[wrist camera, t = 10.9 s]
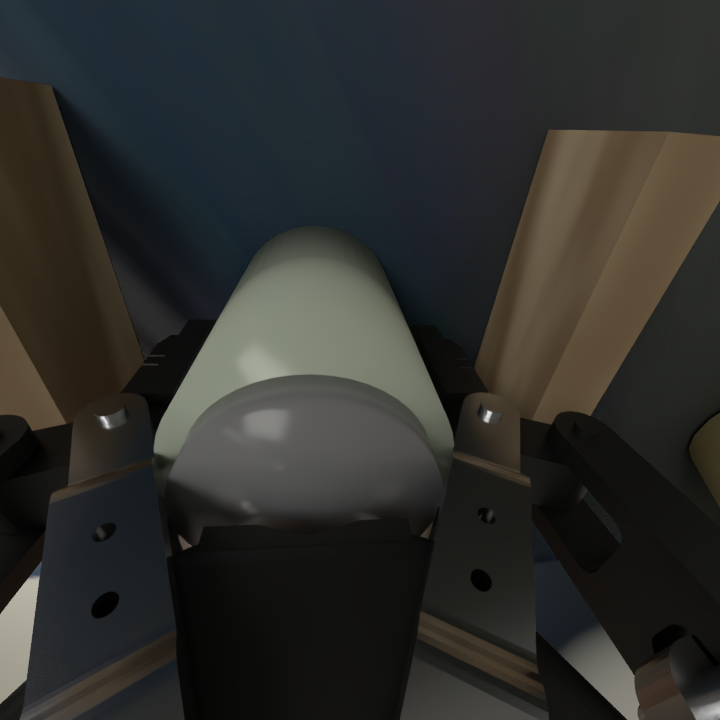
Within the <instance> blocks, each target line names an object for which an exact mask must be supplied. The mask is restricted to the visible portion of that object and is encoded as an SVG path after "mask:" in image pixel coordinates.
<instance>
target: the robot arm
mask: <svg viewBox="0 0 720 720" xmlns="http://www.w3.org/2000/svg"><path fill="white" fill-rule="evenodd" d="M216 322H217V321H216V320H189V321H188V322H187V324H186V325H185V327H184V328H183V329H182V331H181V332H180V334H179V335H171V336H169V337H168V338H166V339H165V340H163V341H161V342H160V343H158V344H157V345H156V347H155V348H154V349H153V351H152V352H151V353H150V357H147V359H146V360H145V361H144V362H143V366H142V365H141V366H140V368H139V369H138V370H137V372H136V373H135V374H134V376H133V377H132V378H131V380H130V381H129V382H128V384H127V385H126V386H125V388H124V389H123V390H122V391H121V393H120V394H114V395H109V396H106V397H103V398H100V399H98V400H96V401H94V402H92V403H90V404H89V405H87V406H86V407H84V408H83V409H82V410H81V411H80V412H79V413H78V414H77V415H76V417H75V419H74V422H72V423H68V424H63V425H58V426H53V427H48V428H44V429H39V430H34V431H33V430H32V429H31V427H30V426H29V424H28V423H27V421H26V420H25V419H24V418H23V417H21V416H18V415H0V613H1V612H2V611H3V610H4V608H5V607H6V606H7V604H8V603H9V602H10V601H11V599H12V598H13V597H14V595H15V594H16V593H17V592H18V590H19V589H20V588H21V586H22V585H23V584H24V583H25V581H26V580H27V579H28V577H29V576H30V575H31V574H32V572H33V571H34V570H35V568H36V567H37V566H38V565H39V563H40V562H41V561H42V563H41V571H40V579H39V587H38V595H37V603H36V611H35V619H34V627H33V634H32V642H31V650H30V658H29V666H28V674H27V680H26V681H25V682H24V683H23V684H22V685H21V686H19V687H18V688H17V689H16V690H15V691H14V692H13V693H12V694H11V695H10V696H9V697H8V698H7V699H5V700H4V701H3V702H2V703H1V704H0V720H627V719H626V718H625V717H624V716H623V715H622V714H621V713H620V712H619V711H618V710H617V709H616V708H614V707H613V705H612V704H611V703H610V702H608V701H607V700H606V699H605V698H604V697H603V696H602V695H601V694H600V693H599V692H598V691H597V690H596V689H595V688H594V687H593V686H592V685H591V684H590V683H589V682H588V681H587V680H586V679H585V678H584V677H583V676H582V675H581V674H580V673H579V672H578V671H577V670H576V669H575V668H573V667H572V666H571V665H570V664H569V663H568V662H567V661H566V660H565V659H564V658H563V657H562V656H561V655H560V654H559V653H558V652H557V651H556V650H555V649H554V648H553V647H552V646H551V645H550V644H549V643H548V642H547V641H546V640H544V638H543V637H541V635H539V634H538V633H537V632H536V628H535V600H534V599H535V597H534V565H533V533H532V520H533V522H534V523H535V525H536V526H537V528H538V529H539V531H540V532H541V534H542V535H543V537H544V538H545V540H546V542H547V543H548V545H549V546H550V548H551V549H552V551H553V552H554V554H555V555H556V557H557V558H558V560H559V561H560V563H561V564H562V566H563V567H564V569H565V570H566V572H567V573H568V575H569V576H570V578H571V579H572V581H573V583H574V584H575V586H576V587H577V588H578V590H579V592H580V593H581V595H582V596H583V598H584V599H585V601H586V602H587V604H588V605H589V607H590V608H591V610H592V611H593V613H594V614H595V616H596V618H597V619H598V620H599V622H600V623H601V625H602V627H603V628H604V630H605V631H606V633H607V634H608V636H609V637H610V639H611V640H612V642H613V643H614V645H615V646H616V648H617V649H618V651H619V652H620V654H621V655H622V657H623V659H624V660H625V662H626V663H627V664H628V666H629V668H630V669H631V671H632V672H633V674H634V675H635V690H636V694H637V698H638V701H639V704H640V705H639V707H638V717H639V720H720V527H719V526H718V525H717V524H716V523H714V522H713V521H712V520H711V519H710V518H709V517H708V516H707V515H706V514H704V513H703V512H702V511H701V510H700V509H699V508H698V507H697V506H696V505H695V504H693V503H692V502H691V501H690V500H689V499H688V498H687V497H686V496H685V495H683V494H682V493H681V492H680V491H679V490H678V489H677V488H676V487H675V486H674V485H672V484H671V483H670V482H669V481H668V480H667V479H666V478H665V477H664V476H662V475H661V474H660V473H659V472H658V471H657V470H656V469H655V468H654V467H652V466H651V465H650V464H649V463H648V462H647V461H646V460H645V459H644V458H643V457H641V456H640V455H639V454H638V453H637V452H636V451H635V450H634V449H633V448H631V447H630V446H629V445H628V444H627V443H626V442H625V441H624V440H623V439H621V438H620V437H619V436H618V435H617V434H616V433H615V432H614V431H613V430H612V429H610V428H609V427H608V426H607V425H606V424H604V423H603V422H601V421H599V420H598V419H596V418H594V417H592V416H589V415H587V414H583V413H580V412H574V411H565V412H561V413H559V414H558V415H557V416H556V417H555V419H554V421H553V423H552V424H547V423H542V422H538V421H533V420H529V419H525V418H521V417H520V415H519V412H518V411H517V409H516V408H515V407H514V406H513V405H512V404H511V403H510V402H508V401H507V400H505V399H503V398H502V397H499V396H497V395H494V394H490V393H489V392H488V390H487V388H486V387H485V385H484V384H483V382H482V380H481V379H480V377H479V376H478V374H477V372H476V371H475V369H474V368H473V366H472V364H471V363H470V361H469V360H468V358H467V356H466V354H465V353H464V351H463V350H462V348H461V347H459V346H458V345H457V344H455V343H454V342H453V341H451V340H444V339H443V337H442V335H441V334H440V332H439V330H438V328H437V327H436V325H412V327H411V329H410V332H411V334H412V337H413V339H414V341H415V344H416V346H417V348H418V351H419V353H420V355H421V357H422V360H423V362H424V364H425V367H426V369H427V371H428V374H429V376H430V378H431V381H432V383H433V385H434V388H435V390H436V392H437V395H438V397H439V399H440V402H441V404H442V406H443V409H444V411H445V413H446V415H447V418H448V420H449V423H450V426H451V429H452V432H453V440H454V447H453V449H452V452H451V455H450V458H449V461H448V465H447V470H446V474H445V477H444V481H443V492H442V495H441V498H440V501H439V504H438V507H437V510H436V513H435V516H434V519H433V521H432V523H431V524H430V526H429V527H428V529H427V533H426V536H425V538H424V537H421V536H418V535H414V534H411V529H410V525H409V520H408V518H396V519H373V520H359V521H355V522H352V523H349V524H346V525H342V526H339V527H336V528H333V529H329V530H326V531H323V532H319V533H316V534H312V535H303V534H298V533H293V532H289V531H284V530H279V529H275V528H270V527H265V526H261V525H233V526H210V527H203V530H202V533H201V537H200V540H199V543H198V545H195V546H192V547H190V546H189V544H188V543H187V542H186V541H185V540H184V539H183V538H182V537H181V536H180V535H179V533H178V531H177V528H176V526H175V523H174V521H173V519H172V516H171V514H170V511H169V509H168V506H167V504H166V501H165V499H164V491H165V486H166V485H165V481H164V477H163V472H162V468H161V466H160V463H159V460H158V458H157V455H156V453H154V442H155V436H156V432H157V429H158V427H159V424H160V422H161V419H162V417H163V416H164V414H165V412H166V410H167V409H168V407H169V405H170V403H171V401H172V400H173V398H174V396H175V394H176V393H177V391H178V389H179V387H180V386H181V384H182V382H183V380H184V378H185V377H186V375H187V373H188V371H189V370H190V368H191V366H192V364H193V363H194V361H195V359H196V357H197V355H198V354H199V352H200V350H201V348H202V347H203V345H204V343H205V341H206V340H207V338H208V336H209V334H210V332H211V331H212V329H213V327H214V325H215V324H216ZM588 491H589V492H590V493H591V494H592V495H593V496H594V498H595V499H596V500H597V501H598V502H599V503H600V505H601V506H602V507H603V508H604V509H605V510H606V512H607V513H608V514H609V515H610V516H611V517H612V518H613V520H614V521H615V522H616V524H617V525H618V527H619V529H620V532H621V536H622V543H621V545H620V544H619V543H618V541H617V540H616V539H615V538H614V536H613V535H612V534H611V533H610V532H609V530H608V529H607V528H606V527H605V526H604V524H603V523H602V522H601V521H600V520H599V518H598V517H597V516H596V515H595V513H594V512H593V511H592V510H591V509H590V507H589V506H588V505H587V504H586V503H585V501H584V500H583V497H584V496H585V494H586V493H587V492H588Z"/></svg>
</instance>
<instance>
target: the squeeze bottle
mask: <svg viewBox="0 0 720 720" xmlns="http://www.w3.org/2000/svg"><path fill="white" fill-rule="evenodd" d="M689 452H690V456H691V459H692V461H693V462H694V464H695V466H696V468H697V469H698V471H699V473H700V475H701V476H702V478H703V480H704V482H705V484H706V485H707V487H708V489H709V491H710V492H711V494H712V496H713V498H714V499H715V501H716V503H717V505H718V506H719V508H720V413H719V414H717V415H716V416H714V417H713V418H711V419H710V420H708V422H707V423H706V424H705V425H704V426H703V427H702V428H701V429H700V430H699V431H698V432H697V433H696V434H695V435H694V437H693V440H692V442H691V444H690V446H689Z"/></svg>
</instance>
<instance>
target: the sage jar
mask: <svg viewBox="0 0 720 720" xmlns="http://www.w3.org/2000/svg"><path fill="white" fill-rule="evenodd" d="M453 447H454V440H453V432H452V429H451V426H450V423H449V420H448V418H447V415H446V413H445V411H444V409H443V406H442V404H441V402H440V399H439V397H438V395H437V392H436V390H435V388H434V385H433V383H432V381H431V378H430V376H429V374H428V371H427V369H426V367H425V364H424V362H423V360H422V357H421V355H420V353H419V351H418V348H417V346H416V344H415V341H414V339H413V337H412V334H411V332H410V330H409V327H408V325H407V323H406V320H405V318H404V316H403V313H402V311H401V309H400V306H399V304H398V302H397V299H396V297H395V295H394V293H393V290H392V288H391V286H390V283H389V281H388V279H387V276H386V274H385V272H384V269H383V267H382V266H381V264H380V262H379V260H378V259H377V257H376V256H375V255H374V253H373V252H372V251H371V250H370V249H369V248H368V247H367V246H366V245H365V244H364V243H362V242H361V241H360V240H358V239H357V238H355V237H353V236H352V235H350V234H348V233H346V232H343V231H341V230H338V229H334V228H330V227H324V226H304V227H297V228H294V229H290V230H287V231H285V232H282V233H280V234H278V235H276V236H275V237H273V238H272V239H270V240H269V241H268V242H266V243H265V244H264V245H263V246H262V247H261V248H260V249H259V250H258V251H257V253H256V254H255V255H254V257H253V259H252V260H251V262H250V263H249V265H248V267H247V269H246V271H245V272H244V274H243V276H242V278H241V279H240V281H239V283H238V285H237V286H236V288H235V290H234V292H233V294H232V295H231V297H230V299H229V301H228V302H227V304H226V306H225V308H224V309H223V311H222V313H221V315H220V317H219V318H218V320H217V322H216V324H215V325H214V327H213V329H212V331H211V332H210V334H209V336H208V338H207V340H206V341H205V343H204V345H203V347H202V348H201V350H200V352H199V354H198V355H197V357H196V359H195V361H194V363H193V364H192V366H191V368H190V370H189V371H188V373H187V375H186V377H185V378H184V380H183V382H182V384H181V386H180V387H179V389H178V391H177V393H176V394H175V396H174V398H173V400H172V401H171V403H170V405H169V407H168V409H167V410H166V412H165V414H164V416H163V417H162V419H161V422H160V424H159V427H158V429H157V432H156V436H155V442H154V453H156V455H157V458H158V460H159V463H160V466H161V468H162V472H163V477H164V481H165V485H166V486H165V491H164V499H165V501H166V504H167V506H168V509H169V511H170V514H171V516H172V519H173V521H174V523H175V526H176V528H177V531H178V533H179V535H180V536H181V537H182V538H183V539H184V540H185V541H186V542H187V543H188V544H189V545H191V546H195V545H198V543H199V540H200V537H201V533H202V530H203V527H210V526H233V525H261V526H265V527H270V528H275V529H279V530H284V531H289V532H293V533H298V534H303V535H312V534H316V533H319V532H323V531H326V530H329V529H333V528H336V527H339V526H342V525H346V524H349V523H352V522H355V521H359V520H373V519H396V518H408V520H409V525H410V529H411V534H414V535H418V536H421V535H422V534H423V533H424V531H425V530H426V529H427V528H428V527H429V526H430V524H431V523H432V521H433V519H434V516H435V513H436V510H437V507H438V504H439V501H440V498H441V495H442V492H443V481H444V477H445V474H446V470H447V465H448V461H449V458H450V455H451V452H452V449H453Z"/></svg>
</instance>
